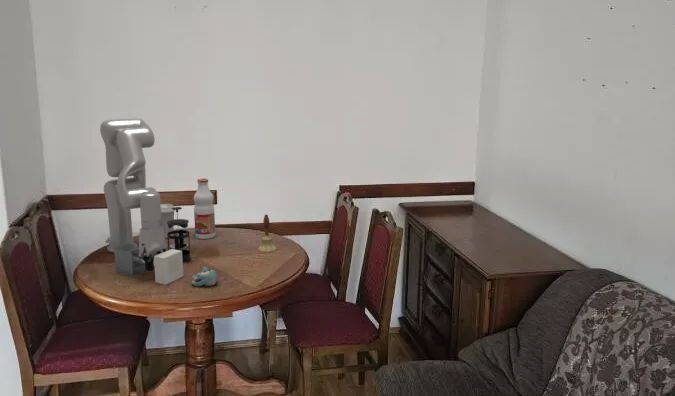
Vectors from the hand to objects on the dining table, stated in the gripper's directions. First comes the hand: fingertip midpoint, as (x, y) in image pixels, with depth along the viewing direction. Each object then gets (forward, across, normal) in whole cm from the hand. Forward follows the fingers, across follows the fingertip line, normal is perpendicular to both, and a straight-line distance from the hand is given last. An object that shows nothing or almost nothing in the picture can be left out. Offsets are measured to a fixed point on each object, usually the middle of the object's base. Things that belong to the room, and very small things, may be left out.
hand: (154, 268), depth 237 cm
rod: (0, 0, -3) cm, 3 cm away
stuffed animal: (+4, -3, +22) cm, 22 cm away
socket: (+3, 0, +7) cm, 8 cm away
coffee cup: (+4, -44, -34) cm, 55 cm away
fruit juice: (+4, -52, -17) cm, 55 cm away
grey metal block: (+3, 0, -12) cm, 13 cm away
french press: (+4, -20, -5) cm, 21 cm away
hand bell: (+4, -49, +20) cm, 53 cm away
